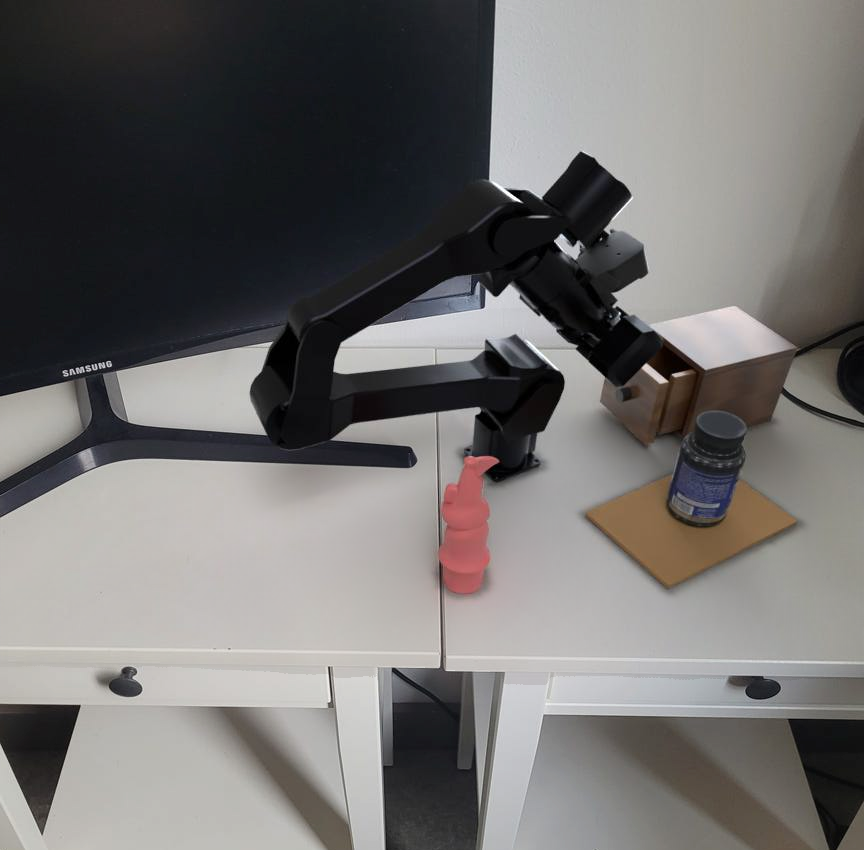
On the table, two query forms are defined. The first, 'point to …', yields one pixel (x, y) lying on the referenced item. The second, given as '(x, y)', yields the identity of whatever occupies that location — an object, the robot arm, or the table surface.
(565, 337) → the robot arm
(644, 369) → the drawer
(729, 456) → the pill bottle
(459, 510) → the figurine
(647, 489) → the mat
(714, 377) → the cabinet
